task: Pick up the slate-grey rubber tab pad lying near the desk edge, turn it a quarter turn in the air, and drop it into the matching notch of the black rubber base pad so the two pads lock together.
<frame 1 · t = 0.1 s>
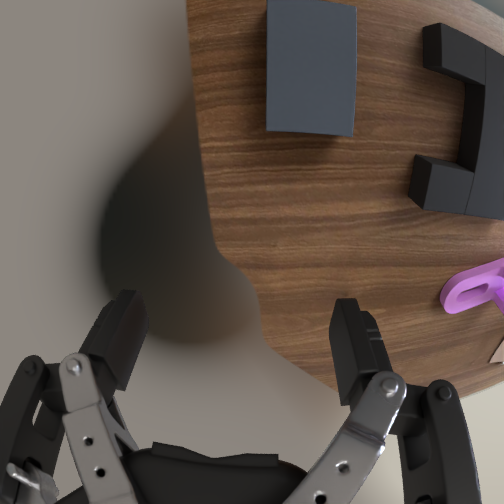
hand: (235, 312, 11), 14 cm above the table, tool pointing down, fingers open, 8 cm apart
tab pad: (306, 66, 17), on the table
bracket: (477, 281, 27), on the table
base pad: (476, 128, 18), on the table
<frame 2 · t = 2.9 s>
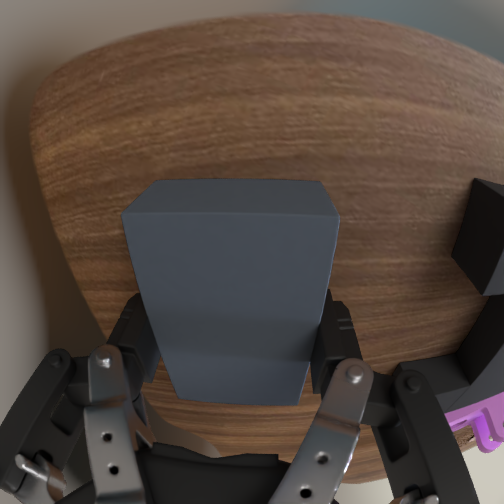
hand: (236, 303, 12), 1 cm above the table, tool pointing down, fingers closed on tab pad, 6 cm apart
tab pad: (238, 290, 12), on the table, touching gripper
bracket: (456, 413, 22), on the table
base pad: (498, 309, 13), on the table
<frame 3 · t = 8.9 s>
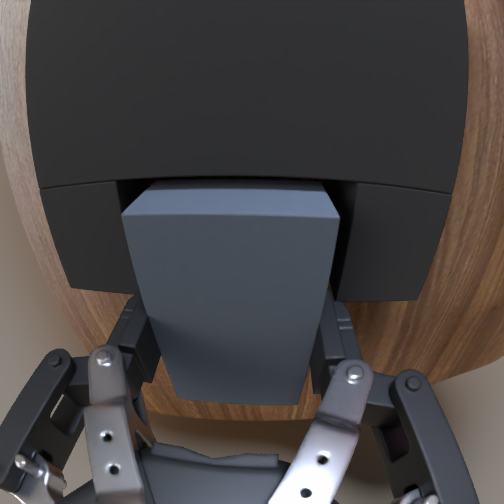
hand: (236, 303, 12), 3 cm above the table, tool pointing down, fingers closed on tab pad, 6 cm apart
tab pad: (238, 290, 12), point 2 cm above the table, touching gripper
base pad: (239, 107, 10), on the table, touching gripper
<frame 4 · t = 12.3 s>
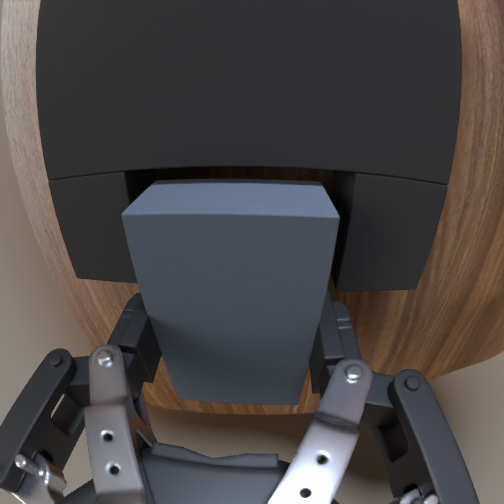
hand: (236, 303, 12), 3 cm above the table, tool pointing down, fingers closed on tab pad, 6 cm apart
tab pad: (238, 289, 12), point 2 cm above the table, touching gripper
base pad: (242, 103, 10), on the table
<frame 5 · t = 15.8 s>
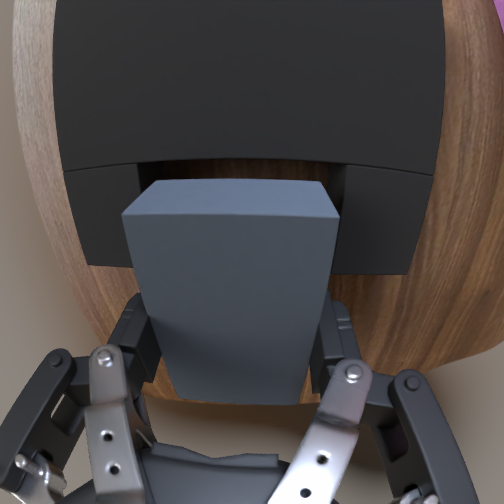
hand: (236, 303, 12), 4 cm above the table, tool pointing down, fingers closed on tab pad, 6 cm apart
tab pad: (238, 289, 12), point 3 cm above the table, touching gripper
base pad: (244, 102, 11), on the table
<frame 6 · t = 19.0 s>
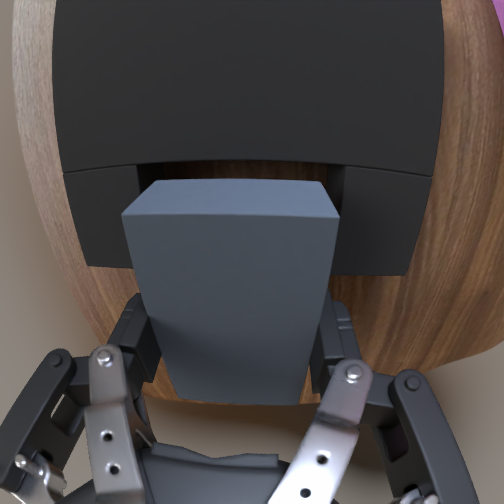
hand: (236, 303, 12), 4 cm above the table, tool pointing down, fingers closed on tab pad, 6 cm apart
tab pad: (238, 290, 12), point 4 cm above the table, touching gripper
base pad: (243, 104, 11), on the table
when the fingers open (4 cm above the table, at t = 22.0 s): tab pad drops 4 cm, on the table.
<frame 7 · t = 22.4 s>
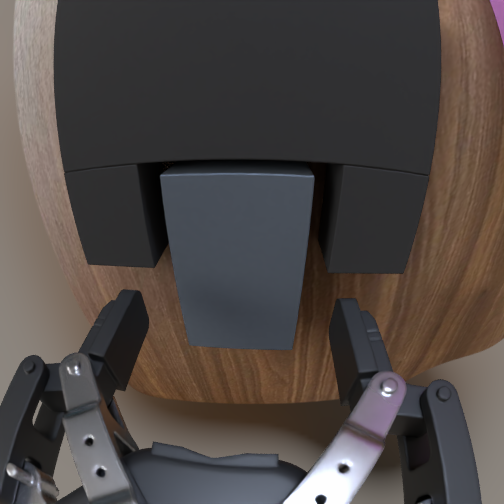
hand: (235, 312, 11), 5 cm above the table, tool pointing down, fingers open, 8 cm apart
tab pad: (242, 247, 16), on the table
base pad: (242, 104, 12), on the table
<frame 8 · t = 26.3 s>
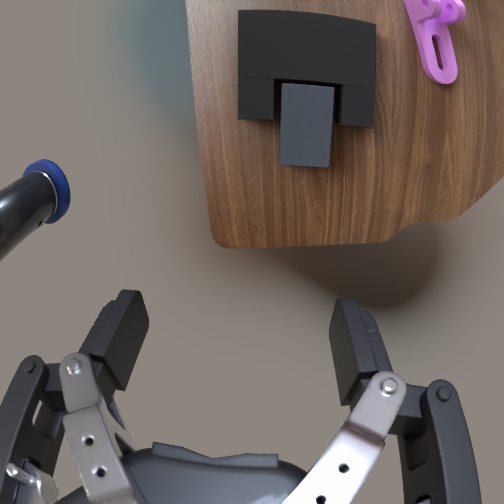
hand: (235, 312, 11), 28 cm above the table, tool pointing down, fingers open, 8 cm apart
tab pad: (303, 123, 32), on the table
bracket: (431, 41, 24), on the table
base pad: (306, 67, 28), on the table
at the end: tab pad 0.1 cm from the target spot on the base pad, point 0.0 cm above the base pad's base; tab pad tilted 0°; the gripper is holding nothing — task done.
